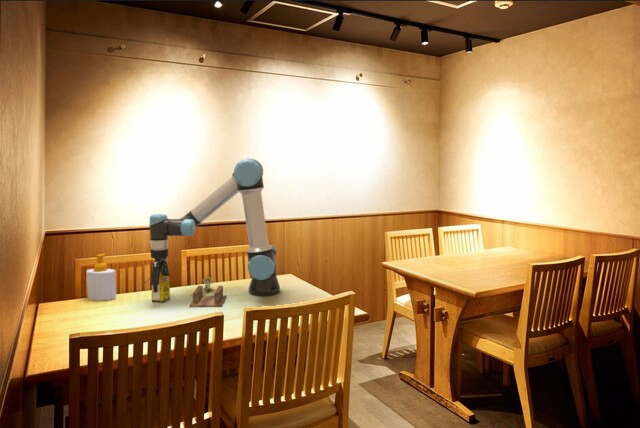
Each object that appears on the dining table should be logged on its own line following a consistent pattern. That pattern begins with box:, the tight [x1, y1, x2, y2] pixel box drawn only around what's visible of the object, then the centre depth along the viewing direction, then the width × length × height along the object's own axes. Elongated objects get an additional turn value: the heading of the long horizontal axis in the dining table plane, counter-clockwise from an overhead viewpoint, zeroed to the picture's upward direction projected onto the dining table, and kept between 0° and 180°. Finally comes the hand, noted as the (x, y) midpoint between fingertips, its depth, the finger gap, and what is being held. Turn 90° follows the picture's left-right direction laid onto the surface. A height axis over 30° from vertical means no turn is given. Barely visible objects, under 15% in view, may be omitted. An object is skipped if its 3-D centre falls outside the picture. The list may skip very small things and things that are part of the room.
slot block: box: [189, 285, 228, 308], centre depth 211 cm, size 14×14×6 cm
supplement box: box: [150, 275, 171, 304], centre depth 213 cm, size 6×6×11 cm
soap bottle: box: [86, 253, 117, 302], centre depth 215 cm, size 13×8×20 cm, turn 81°
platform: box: [202, 276, 214, 293], centre depth 230 cm, size 12×18×7 cm, turn 20°
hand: (160, 294), depth 213 cm, fingers open, 13 cm apart
